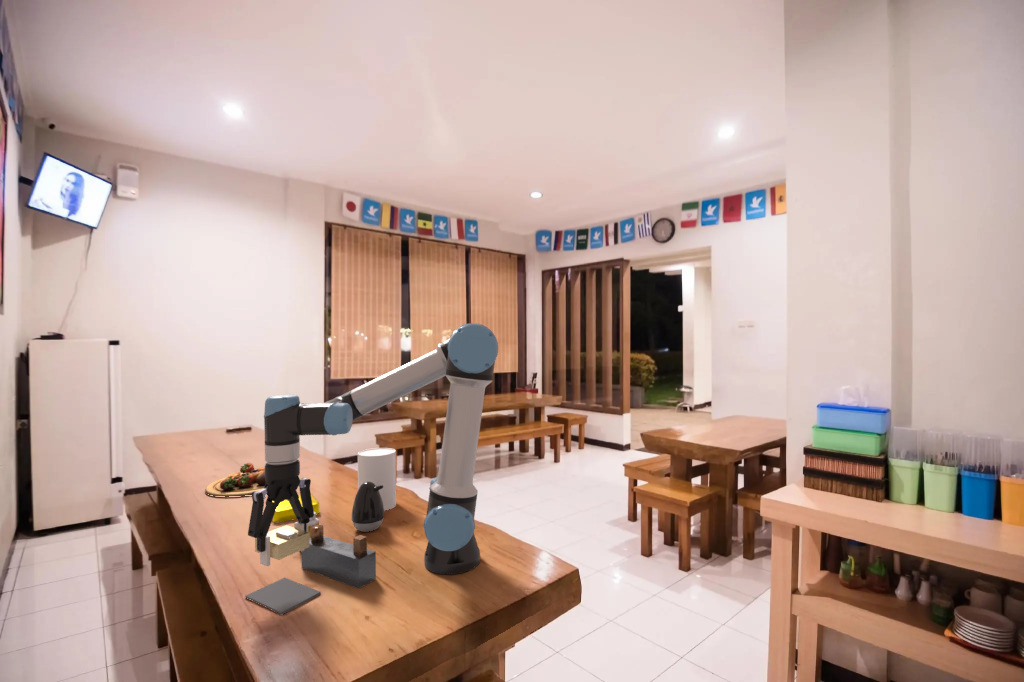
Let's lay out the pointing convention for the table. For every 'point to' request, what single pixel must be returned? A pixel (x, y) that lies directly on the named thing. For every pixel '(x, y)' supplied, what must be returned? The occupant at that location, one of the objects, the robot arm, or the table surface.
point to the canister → (379, 472)
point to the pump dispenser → (368, 507)
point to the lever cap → (286, 541)
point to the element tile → (291, 510)
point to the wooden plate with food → (239, 482)
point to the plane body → (340, 559)
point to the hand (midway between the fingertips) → (282, 556)
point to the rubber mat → (283, 595)
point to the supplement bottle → (312, 523)
